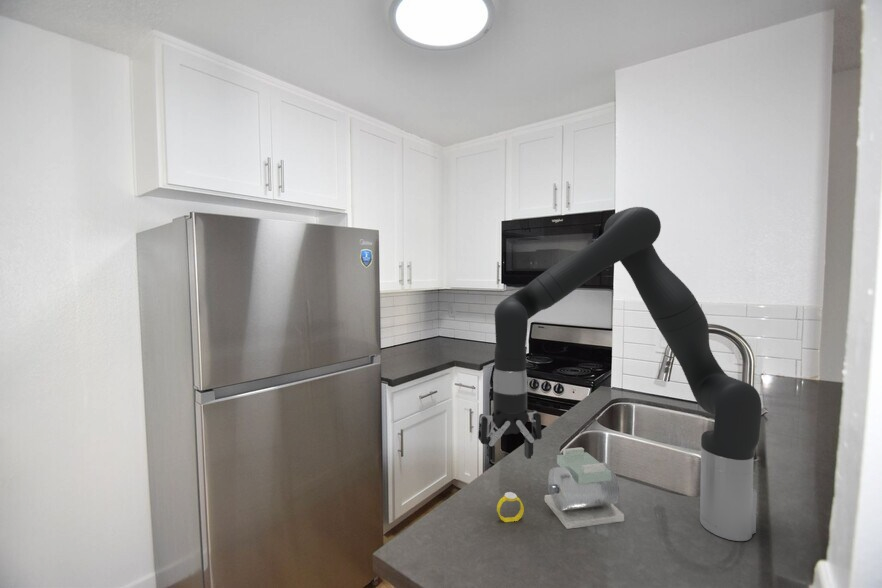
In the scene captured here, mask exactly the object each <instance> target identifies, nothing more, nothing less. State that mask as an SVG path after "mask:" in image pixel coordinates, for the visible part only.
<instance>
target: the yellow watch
mask: <svg viewBox="0 0 882 588" xmlns="http://www.w3.org/2000/svg"><path fill="white" fill-rule="evenodd" d="M507 501H508V502H516V501H517V502H519V504H520V509H519V511H518V513H517V514H516V515H515V516H512V517H511V516H510V517H509V516H508V517H504V516H502V515H501V507H502V506H503V503H504V502H505V503H506V502H507ZM524 512H525V507H524V503H523V502H522V500H521V498H519V496H517V494H516V493H515V492H512V491H508V492H505V493H504V494H503V496H502V497H501V498H500V499H499V500H498V502H497V504H496V513H498V517H499V518H500V520H501V522H503V523H512V522H513V523H515V522H516V521H517V522H518V521H519V520H520V519H521V518H522V517H523V516H524ZM514 521H515V522H514Z"/></svg>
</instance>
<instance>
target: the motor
mask: <svg viewBox="0 0 882 588" xmlns="http://www.w3.org/2000/svg"><path fill="white" fill-rule="evenodd" d="M562 453H563V454H557V455H556V463H557V465H558V466H559V467H558V466H557V467H551V468H550V469H549V472H548V481H547V482H548V485H547V486H546V488H547V492H548V494H544V502H545V503H546V505H547V506H548V508H550V509H551V511H552V512H553V513H554V515H555V516H556V518H558V520H559V521H560V522H561V524H562V525H563V526H564V527H565V529H566V530H569V529H575V528H576V529H577V528H584V527H591V526H598V525H599V526H600V525H606V524H607V525H608V524H614V523H622V522H625V514H624V513H623V512H622V511H621V510H620V509H619V508H618V507H616V505H615V504H617V503H618V501H620V499H619V498H620V492H621V491H620V484H619V481H618V477H617V476H616V473H615V472H614V469H613V468H612V467H611V466H610V465H609V464H608V463H606V462H600V461H598V460H597V459H596V458H595V457H594V456H592V455H591V454H589V453H588V452H587V451H585V448H583V447H572V448H563V449H562Z"/></svg>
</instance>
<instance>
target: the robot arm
mask: <svg viewBox="0 0 882 588" xmlns="http://www.w3.org/2000/svg"><path fill="white" fill-rule="evenodd" d="M603 227H604V228H603V233H602V234H601V235H600V236H598V237H597V238H596V239H594V240H593V241H592V242H591V243H589V244H587V245H586V246H585V247H583V248H581V249H580V250H579V251H577V252H575V253H572V254H571V255H568V257H566V258H564V259H563V260H561V261H559V262H557V263H556V264H554V265H552V266H551V267H550V268H548V269H546V270H545V271H544V272H542V273H540V275H538V276H536V277H535V278H534V279H533V280H532V281H530V282H529V283H528V284H526V285H525V286H524V287H523V288H521V289H519V290H518V291H516V292H514V293H512V294H511V295H509V296H508V297H506V298H505V299H503V300H502V301H500V302H499V304H497V305H496V307H495V309H494V326H495V327H494V328H495V329H494V330H495V348H494V371H493V376H492V377H493V378H492V379H493V381H492V382H493V383H492V384H493V385H492V386H493V387H492V388H493V393H492V394H493V399H492V401H493V404H492V405H493V406H492V409H493V410H492V411H493V412H492V414H491V415H488V414H487V415H485V414H484V413H480V414H479V418H478V419H479V420H478V433H477V435H478V437H477V438H478V440H479V442H480V444H482V445H486V457H487V459H488V460H489V461H490V463H495V462H496V445H495V444H496V442H498V440H499V439H500V438H501V437H502V436H503V435H506V436H507V435H510V434H513V435H517V434H518V435H519V433H521V434H522V435H523V437H524V438H525V439H524V442H523V443H524V446H523V447H524V451H523V452H524V453H523V454H524V456H525V458H526V459H527V460H530V459H532V456H533V455H534V442H535V441H537V440H541V439H542V438H543V435H542V415H541V413H539V412H538V411H537V410H535V409H532V410H531V412H530V411H529V412H528V385H529V384H528V375H527V374H528V372H527V348H526V347H527V346H526V345H527V336H528V334H527V333H528V322H529V321H528V320H529V319H531V318H532V317H534V316H535V315H537V314H538V313H539V312H541V311H543V310H544V311H545V310H546V309H549V308H550V307H551V308H552V306H554V305H555V304H557V303H558V302H560V301H561V300H563V299H564V298H565V297H567V296H568V295H570V294H571V293H573V292H574V291H575V290H577V289H578V288H579V287H581V286H582V285H584V284H585V283H586V282H587V281H589V280H591V279H592V278H594V277H595V276H597V275H598V274H600V273H601V272H602V271H604V270H606V269H607V268H609V267H611V266H614V265H616V263H619V262H620V263H621V265H622V266H623V267H624V269H625V270H626V272H627V274H629V276H630V278H631V280H632V282H633V284H634V285H635V286H634V287H635V288H636V290H637V291H638V294H639V296H640V298H641V299H642V301H643V304H644V305H645V306H646V308H647V310H648V312H649V315H650V316H651V319H652V320H653V322H654V323H655V325H656V327H657V328H658V330H659V332H660V333H661V336H662V337H663V338H664V340H665V342H666V343H667V345H668V347H669V349H670V350H671V353H672V354H673V356H674V357H675V358H676V360H677V361H678V363H679V366H680V367H681V369H682V371H683V374H684V376H685V378H686V381H687V383H688V385H689V387H690V390H691V392H692V395H693V397H694V399H695V401H696V402H697V404H698V405H699V406H700V407H701V408H702V409H703V410H704V411H705V412H707V413H709V414H710V415H712V416H714V424H713V430H706V431H704V432H703V433H702V434H701V438H700V439H701V440H700V441H701V443H700V445H701V446H700V495H699V496H700V497H699V498H700V499H699V500H700V503H699V504H700V505H699V522H700V524H701V526H703V529H705V530H707V531H708V532H709V533H712V534H713V535H715V536H718V537H720V538H723V539H726V540H730V541H736V542H745V541H749V540H751V538H752V536H753V535H755V534H754V533H757V498H758V497H757V493H758V491H757V490H756V488H754V455H755V450H756V448H757V445H758V443H759V440H760V432H761V423H762V422H761V421H762V400H761V396H760V394H759V391H758V389H756V388H755V387H754V386H753V385H751V384H750V383H748V382H746V381H742V380H740V379H737V378H734V377H733V376H732V377H731V376H729V375H728V374H726V372H724V370H723V368H722V367H721V365H719V363H718V361H717V360H716V358H715V356H714V354H713V351H712V349H711V346H710V331H709V330H710V327H709V322H708V319H707V316H706V315H705V313H704V311H703V309H702V307H701V306H700V304H699V302H698V300H697V298H696V296H695V295H694V294H693V292H692V291H691V290H690V289H689V287H688V285H686V284H685V283H684V282H683V281H682V280H681V279H680V278H679V276H677V275H676V274H675V273H674V272H673V271H672V270H671V269H670V268H669V267H668V266H667V265H666V263H664V262H663V260H662V259H661V257H660V256H659V254H658V252H657V250H656V248H655V247H654V245H653V244H655V242H656V241H657V240H658V238H659V237H660V232H661V228H662V225H661V220H660V218H659V216H658V214H657V213H656V212H655V211H653V210H652V209H650V208H648V207H643V206H633V207H628V208H625V209H623V210H620V211H618V212H615V213H613V214H611V216H609V218H608V219H607V220H606V222H605V224H604V226H603ZM528 421H530V422H531V432H530V431H529V430H528V429H527V427H526V426H525V425H526V424H527V422H528ZM491 422H493V423H494V424H493V426H492V427H491V428H490V432H489V433H488V426H490V424H491Z"/></svg>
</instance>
